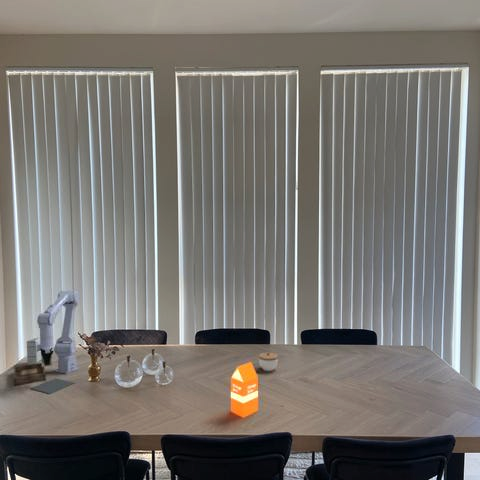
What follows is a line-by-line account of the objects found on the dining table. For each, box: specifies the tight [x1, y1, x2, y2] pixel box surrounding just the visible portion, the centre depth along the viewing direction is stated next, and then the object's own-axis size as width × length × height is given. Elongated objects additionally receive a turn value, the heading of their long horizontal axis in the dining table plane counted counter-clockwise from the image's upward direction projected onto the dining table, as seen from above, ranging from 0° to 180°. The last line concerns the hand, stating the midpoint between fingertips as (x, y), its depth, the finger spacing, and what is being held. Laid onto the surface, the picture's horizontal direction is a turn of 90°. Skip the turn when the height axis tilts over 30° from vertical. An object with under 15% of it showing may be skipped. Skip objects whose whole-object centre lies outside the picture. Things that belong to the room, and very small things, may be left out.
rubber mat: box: [30, 377, 75, 395], centre depth 188 cm, size 14×14×1 cm
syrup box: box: [26, 337, 41, 365], centre depth 221 cm, size 6×6×14 cm
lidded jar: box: [258, 351, 279, 372], centre depth 209 cm, size 11×11×9 cm
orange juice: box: [230, 361, 259, 419], centre depth 160 cm, size 8×9×20 cm
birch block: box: [41, 355, 53, 368], centre depth 190 cm, size 4×4×5 cm
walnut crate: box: [13, 363, 47, 387], centre depth 201 cm, size 14×20×4 cm
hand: (46, 363), depth 191 cm, fingers closed on birch block, 4 cm apart
